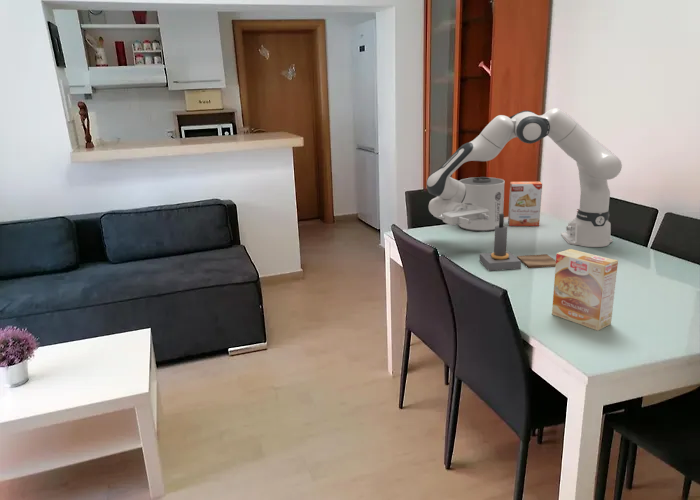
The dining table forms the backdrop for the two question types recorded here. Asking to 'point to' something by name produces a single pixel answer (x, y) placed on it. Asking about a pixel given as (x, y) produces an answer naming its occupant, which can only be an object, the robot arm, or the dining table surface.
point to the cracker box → (524, 203)
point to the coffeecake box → (584, 288)
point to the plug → (500, 241)
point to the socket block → (500, 262)
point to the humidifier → (484, 201)
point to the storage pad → (537, 261)
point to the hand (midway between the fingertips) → (478, 219)
